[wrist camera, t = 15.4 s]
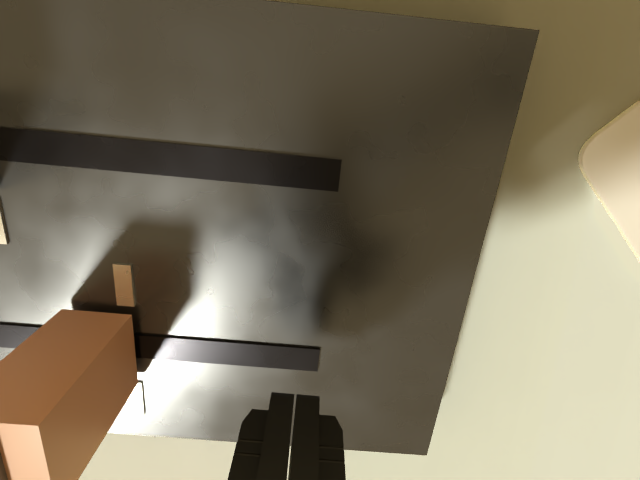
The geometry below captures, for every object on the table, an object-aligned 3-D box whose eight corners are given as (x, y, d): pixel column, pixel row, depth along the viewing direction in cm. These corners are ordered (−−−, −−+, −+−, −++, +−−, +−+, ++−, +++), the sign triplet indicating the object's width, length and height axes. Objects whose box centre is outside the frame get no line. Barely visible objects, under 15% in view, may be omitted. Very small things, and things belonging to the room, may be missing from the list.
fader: (62, 309, 13) (-76, 425, 9) (131, 314, 13) (32, 432, 9) (73, 378, 14) (-44, 514, 10) (138, 383, 15) (52, 520, 10)
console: (-273, -45, 12) (-445, -84, 9) (506, 39, 12) (556, 25, 10) (-111, 379, 17) (-187, 430, 15) (415, 417, 18) (431, 472, 16)
